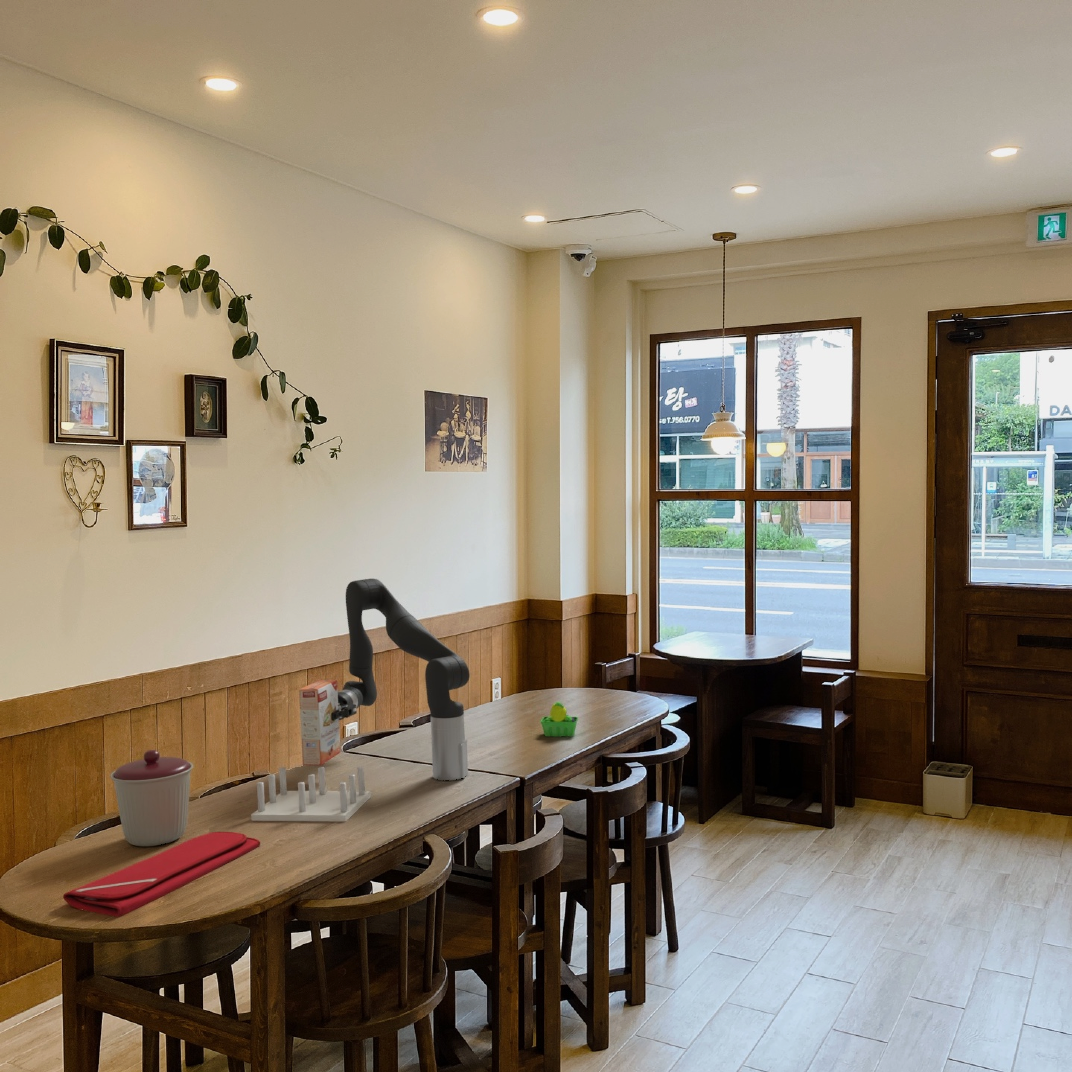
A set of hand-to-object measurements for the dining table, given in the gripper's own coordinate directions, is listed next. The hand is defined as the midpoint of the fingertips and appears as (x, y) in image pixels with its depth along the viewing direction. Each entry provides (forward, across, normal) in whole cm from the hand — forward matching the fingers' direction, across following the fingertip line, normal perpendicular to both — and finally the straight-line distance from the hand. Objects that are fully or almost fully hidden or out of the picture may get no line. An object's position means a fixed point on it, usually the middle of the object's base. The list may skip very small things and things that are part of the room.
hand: (321, 717), depth 278 cm
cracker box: (+1, 0, +12) cm, 12 cm away
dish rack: (+22, +5, +18) cm, 29 cm away
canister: (+47, -24, +18) cm, 56 cm away
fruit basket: (-55, +58, +20) cm, 82 cm away
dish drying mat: (+67, -10, +19) cm, 71 cm away
